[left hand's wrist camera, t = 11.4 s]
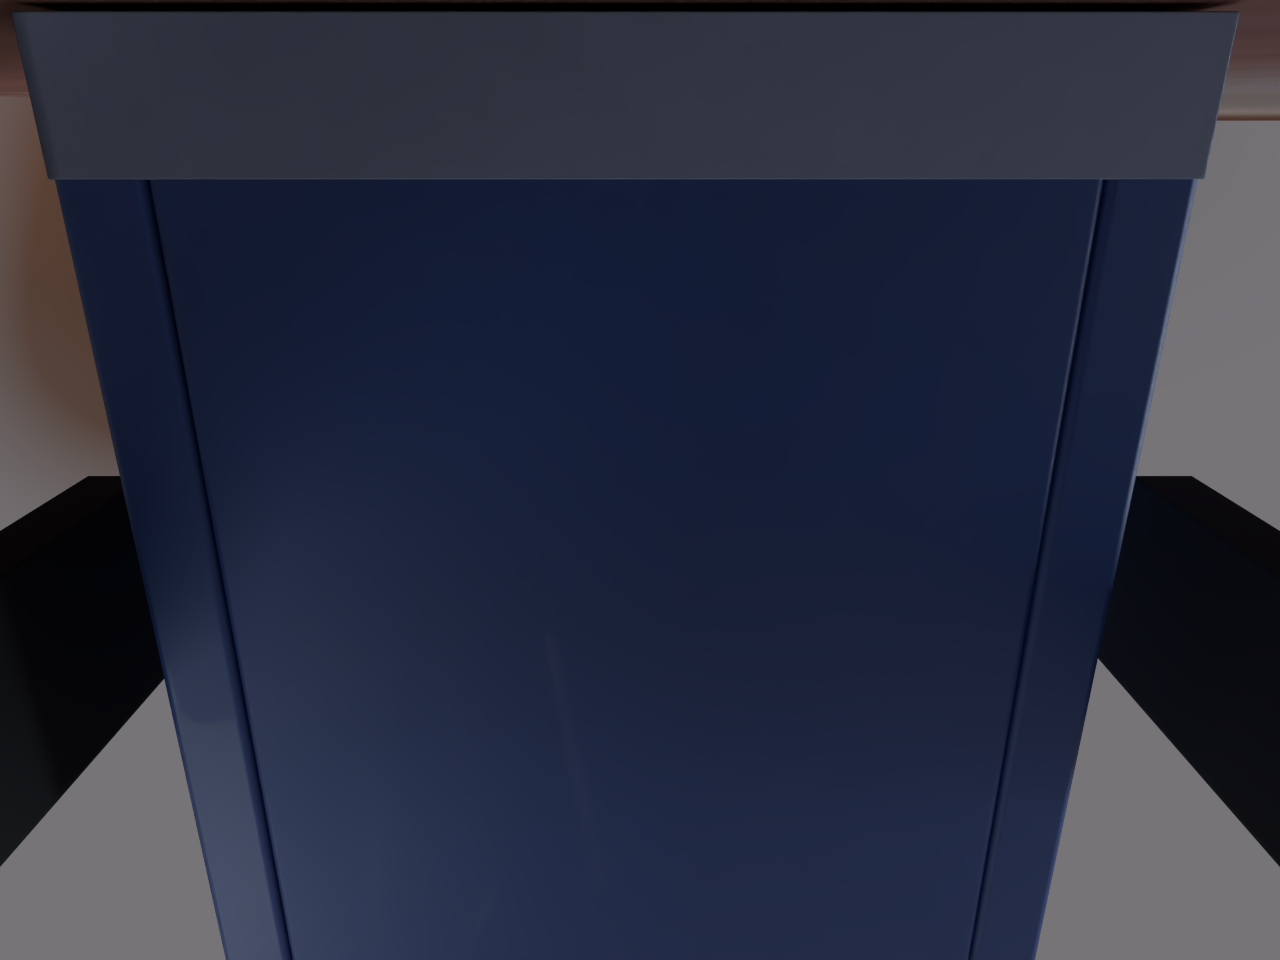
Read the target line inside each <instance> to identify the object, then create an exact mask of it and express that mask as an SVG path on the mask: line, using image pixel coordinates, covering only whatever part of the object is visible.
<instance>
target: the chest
mask: <svg viewBox="0 0 1280 960" xmlns="http://www.w3.org/2000/svg"><path fill="white" fill-rule="evenodd" d="M1238 17H1239V12H1238V11H12V18H13V22H14V27H15V31H16V36H17V40H18V45H19V49H20V54H21V58H22V63H23V67H24V72H25V76H26V81H27V85H28V90H29V94H30V99H31V103H32V108H33V112H34V117H35V121H36V126H37V130H38V135H39V139H40V144H41V148H42V153H43V157H44V162H45V167H46V171H47V176H48V179H51V180H55V182H56V186H57V191H58V195H59V200H60V205H61V209H62V214H63V218H64V223H65V227H66V232H67V236H68V241H69V246H70V250H71V255H72V259H73V264H74V268H75V273H76V278H77V282H78V287H79V291H80V296H81V300H82V305H83V309H84V314H85V319H86V323H87V328H88V332H89V337H90V341H91V346H92V351H93V355H94V359H95V364H96V369H97V373H98V378H99V382H100V387H101V392H102V396H103V401H104V405H105V410H106V414H107V419H108V424H109V428H110V433H111V437H112V442H113V446H114V451H115V455H116V460H117V465H118V469H119V474H120V478H121V483H122V487H123V492H124V497H125V501H126V506H127V510H128V515H129V519H130V524H131V528H132V533H133V538H134V542H135V547H136V551H137V556H138V560H139V565H140V570H141V574H142V579H143V583H144V588H145V592H146V597H147V601H148V606H149V611H150V615H151V620H152V624H153V629H154V633H155V638H156V643H157V647H158V652H159V656H160V661H161V665H162V670H163V674H164V679H165V684H166V688H167V693H168V697H169V702H170V706H171V710H172V716H173V720H174V724H175V729H176V734H177V738H178V743H179V747H180V752H181V757H182V761H183V766H184V770H185V775H186V779H187V784H188V788H189V793H190V798H191V802H192V807H193V811H194V816H195V820H196V825H197V830H198V834H199V839H200V843H201V848H202V852H203V857H204V862H205V866H206V871H207V875H208V880H209V884H210V889H211V894H212V898H213V903H214V907H215V912H216V916H217V921H218V925H219V930H220V935H221V939H222V944H223V948H224V953H225V957H226V960H292V958H293V960H968V958H970V960H1035V956H1036V951H1037V946H1038V942H1039V937H1040V932H1041V927H1042V923H1043V918H1044V913H1045V908H1046V903H1047V899H1048V894H1049V889H1050V884H1051V879H1052V875H1053V870H1054V865H1055V860H1056V855H1057V851H1058V846H1059V841H1060V836H1061V832H1062V827H1063V822H1064V817H1065V812H1066V808H1067V803H1068V798H1069V793H1070V788H1071V784H1072V779H1073V774H1074V769H1075V765H1076V760H1077V755H1078V750H1079V745H1080V741H1081V736H1082V731H1083V726H1084V721H1085V717H1086V712H1087V707H1088V702H1089V698H1090V693H1091V688H1092V683H1093V678H1094V674H1095V669H1096V664H1097V659H1098V654H1099V650H1100V645H1101V640H1102V635H1103V631H1104V626H1105V621H1106V616H1107V611H1108V607H1109V602H1110V597H1111V592H1112V587H1113V583H1114V578H1115V573H1116V568H1117V564H1118V559H1119V554H1120V549H1121V544H1122V540H1123V535H1124V530H1125V525H1126V520H1127V516H1128V511H1129V506H1130V501H1131V496H1132V492H1133V487H1134V482H1135V477H1136V472H1137V468H1138V463H1139V458H1140V453H1141V449H1142V444H1143V439H1144V434H1145V429H1146V425H1147V420H1148V415H1149V410H1150V406H1151V401H1152V396H1153V391H1154V386H1155V382H1156V377H1157V372H1158V367H1159V362H1160V357H1161V353H1162V348H1163V343H1164V339H1165V334H1166V329H1167V324H1168V319H1169V315H1170V310H1171V305H1172V300H1173V295H1174V290H1175V286H1176V281H1177V276H1178V272H1179V267H1180V262H1181V257H1182V252H1183V247H1184V243H1185V238H1186V233H1187V228H1188V224H1189V219H1190V214H1191V209H1192V204H1193V199H1194V195H1195V190H1196V185H1197V180H1198V179H1204V178H1205V174H1206V169H1207V164H1208V159H1209V155H1210V150H1211V145H1212V140H1213V136H1214V131H1215V126H1216V121H1217V117H1218V112H1219V107H1220V103H1221V98H1222V93H1223V88H1224V84H1225V79H1226V74H1227V69H1228V65H1229V60H1230V55H1231V51H1232V46H1233V41H1234V36H1235V32H1236V27H1237V22H1238Z"/></svg>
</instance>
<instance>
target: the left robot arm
mask: <svg viewBox="0 0 1280 960" xmlns="http://www.w3.org/2000/svg"><path fill="white" fill-rule="evenodd" d="M1098 659H1099V660H1100V661H1101V662H1102V663H1103V664H1104V666H1105V667H1106V668H1107V669H1108V670H1109V671H1110V672H1111V674H1112V675H1113V676H1114V677H1115V678H1116V679H1117V680H1118V682H1119V683H1120V684H1121V685H1122V686H1123V687H1124V689H1125V690H1126V691H1127V692H1128V693H1129V694H1130V695H1131V696H1132V698H1133V699H1134V700H1135V701H1136V702H1137V703H1138V705H1139V706H1140V707H1141V708H1142V709H1143V710H1144V711H1145V713H1146V714H1147V715H1148V716H1149V717H1150V718H1151V720H1152V721H1153V722H1154V723H1155V724H1156V725H1157V726H1158V727H1159V729H1160V730H1161V731H1162V732H1163V733H1164V734H1165V736H1166V737H1167V738H1168V739H1169V740H1170V741H1171V742H1172V744H1173V745H1174V746H1175V747H1176V748H1177V749H1178V750H1179V752H1180V753H1181V754H1182V755H1183V756H1184V757H1185V759H1186V760H1187V761H1188V762H1189V763H1190V764H1191V765H1192V766H1193V768H1194V769H1195V770H1196V771H1197V772H1198V773H1199V775H1200V776H1201V777H1202V778H1203V779H1204V780H1205V781H1206V783H1207V784H1208V785H1209V786H1210V787H1211V788H1212V790H1213V791H1214V792H1215V793H1216V794H1217V795H1218V796H1219V798H1220V799H1221V800H1222V801H1223V802H1224V803H1225V804H1226V806H1227V807H1228V808H1229V809H1230V810H1231V811H1232V812H1233V814H1234V815H1235V816H1236V817H1237V818H1238V819H1239V821H1240V822H1241V823H1242V824H1243V825H1244V826H1245V827H1246V828H1247V830H1248V831H1249V832H1250V833H1251V834H1252V835H1253V836H1254V838H1255V839H1256V840H1257V841H1258V842H1259V843H1260V845H1261V846H1262V847H1263V848H1264V849H1265V850H1266V851H1267V853H1268V854H1269V855H1270V856H1271V857H1272V858H1273V860H1274V861H1275V862H1276V863H1277V864H1278V865H1279V866H1280V531H1279V530H1277V529H1276V528H1274V527H1273V526H1271V525H1269V524H1268V523H1266V522H1264V521H1263V520H1261V519H1260V518H1258V517H1256V516H1255V515H1253V514H1252V513H1250V512H1248V511H1247V510H1245V509H1244V508H1242V507H1240V506H1239V505H1237V504H1235V503H1234V502H1232V501H1231V500H1229V499H1228V498H1226V497H1224V496H1223V495H1221V494H1220V493H1218V492H1216V491H1215V490H1213V489H1212V488H1210V487H1208V486H1207V485H1205V484H1204V483H1202V482H1200V481H1199V480H1197V479H1195V478H1194V477H1192V476H1136V477H1135V482H1134V487H1133V492H1132V496H1131V501H1130V506H1129V511H1128V516H1127V520H1126V525H1125V530H1124V535H1123V540H1122V544H1121V549H1120V554H1119V559H1118V564H1117V568H1116V573H1115V578H1114V583H1113V587H1112V592H1111V597H1110V602H1109V607H1108V611H1107V616H1106V621H1105V626H1104V631H1103V635H1102V640H1101V645H1100V650H1099V654H1098ZM163 679H164V674H163V670H162V665H161V661H160V656H159V652H158V647H157V643H156V638H155V633H154V629H153V624H152V620H151V615H150V611H149V606H148V601H147V597H146V592H145V588H144V583H143V579H142V574H141V570H140V565H139V560H138V556H137V551H136V547H135V542H134V538H133V533H132V528H131V524H130V519H129V515H128V510H127V506H126V501H125V497H124V492H123V487H122V483H121V478H120V476H88V477H86V478H85V479H83V480H81V481H80V482H78V483H76V484H75V485H73V486H72V487H70V488H68V489H67V490H65V491H64V492H62V493H60V494H59V495H57V496H56V497H54V498H52V499H51V500H49V501H48V502H46V503H44V504H43V505H41V506H40V507H38V508H36V509H35V510H33V511H32V512H30V513H28V514H27V515H25V516H23V517H22V518H20V519H19V520H17V521H15V522H14V523H12V524H11V525H9V526H7V527H6V528H4V529H3V530H1V531H0V866H1V865H2V864H3V863H4V862H5V861H6V859H7V858H8V857H9V856H10V855H11V854H12V853H13V851H14V850H15V849H16V848H17V847H18V846H19V844H20V843H21V842H22V841H23V840H24V839H25V838H26V836H27V835H28V834H29V833H30V832H31V831H32V830H33V828H34V827H35V826H36V825H37V824H38V823H39V822H40V820H41V819H42V818H43V817H44V816H45V815H46V814H47V812H48V811H49V810H50V809H51V808H52V807H53V806H54V804H55V803H56V802H57V801H58V800H59V799H60V798H61V796H62V795H63V794H64V793H65V792H66V791H67V789H68V788H69V787H70V786H71V785H72V784H73V783H74V781H75V780H76V779H77V778H78V777H79V776H80V775H81V773H82V772H83V771H84V770H85V769H86V768H87V767H88V765H89V764H90V763H91V762H92V761H93V760H94V758H95V757H96V756H97V755H98V754H99V753H100V752H101V750H102V749H103V748H104V747H105V746H106V745H107V744H108V742H109V741H110V740H111V739H112V738H113V737H114V736H115V734H116V733H117V732H118V731H119V730H120V729H121V727H122V726H123V725H124V724H125V723H126V722H127V721H128V719H129V718H130V717H131V716H132V715H133V714H134V713H135V711H136V710H137V709H138V708H139V707H140V706H141V704H142V703H143V702H144V701H145V700H146V699H147V698H148V696H149V695H150V694H151V693H152V692H153V691H154V690H155V688H156V687H157V686H158V685H159V684H160V683H161V682H162V680H163Z"/></svg>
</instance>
